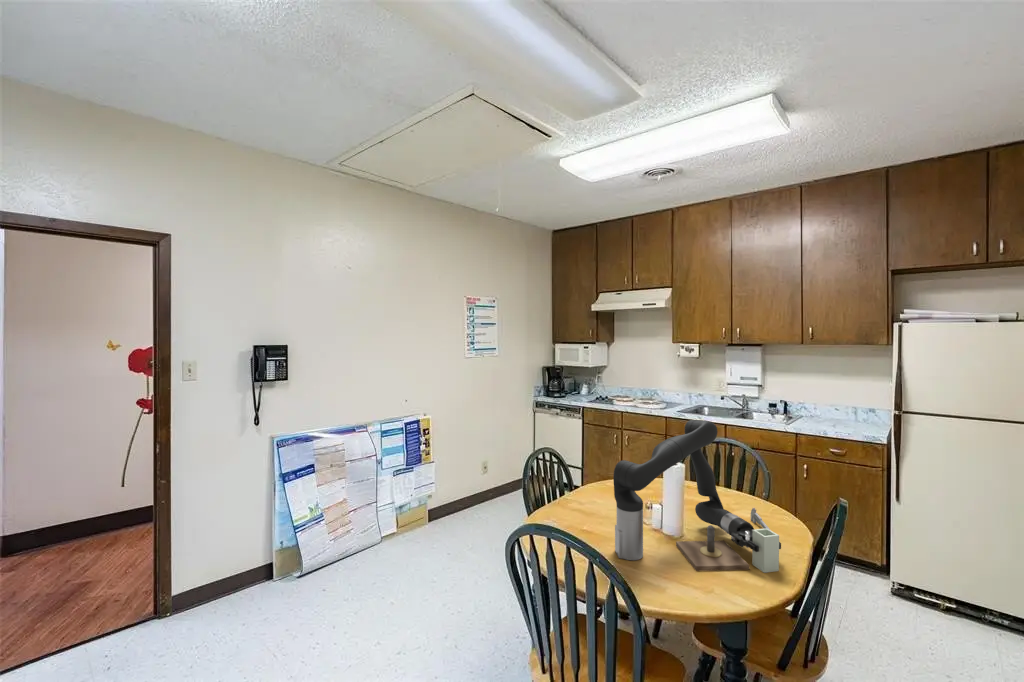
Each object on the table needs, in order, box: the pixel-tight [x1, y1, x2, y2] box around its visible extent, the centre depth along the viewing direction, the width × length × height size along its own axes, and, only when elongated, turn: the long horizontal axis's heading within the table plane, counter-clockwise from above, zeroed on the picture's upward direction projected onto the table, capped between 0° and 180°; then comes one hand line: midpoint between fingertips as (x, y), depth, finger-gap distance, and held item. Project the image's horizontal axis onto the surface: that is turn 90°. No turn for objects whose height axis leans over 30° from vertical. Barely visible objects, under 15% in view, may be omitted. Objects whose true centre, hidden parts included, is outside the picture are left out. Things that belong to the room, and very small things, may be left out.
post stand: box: [675, 524, 750, 572], centre depth 167 cm, size 18×18×11 cm
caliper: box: [750, 507, 771, 530], centre depth 187 cm, size 20×1×6 cm, turn 0°
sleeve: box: [751, 528, 780, 573], centre depth 159 cm, size 6×6×12 cm
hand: (769, 547), depth 158 cm, fingers open, 8 cm apart
